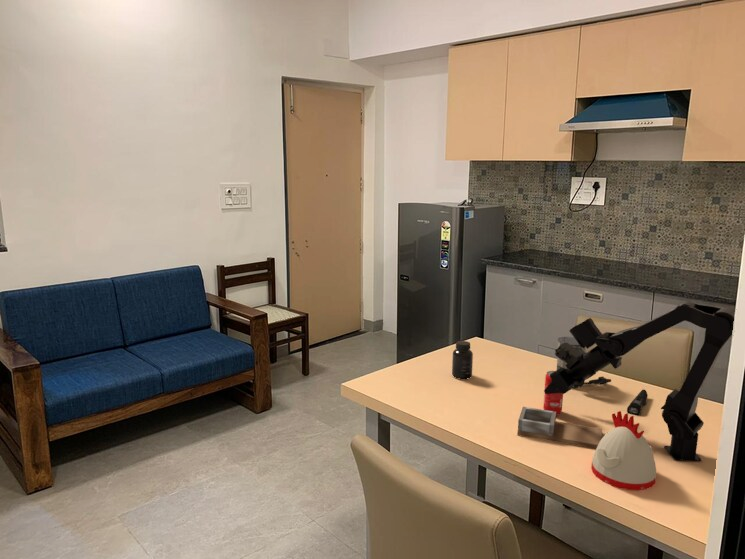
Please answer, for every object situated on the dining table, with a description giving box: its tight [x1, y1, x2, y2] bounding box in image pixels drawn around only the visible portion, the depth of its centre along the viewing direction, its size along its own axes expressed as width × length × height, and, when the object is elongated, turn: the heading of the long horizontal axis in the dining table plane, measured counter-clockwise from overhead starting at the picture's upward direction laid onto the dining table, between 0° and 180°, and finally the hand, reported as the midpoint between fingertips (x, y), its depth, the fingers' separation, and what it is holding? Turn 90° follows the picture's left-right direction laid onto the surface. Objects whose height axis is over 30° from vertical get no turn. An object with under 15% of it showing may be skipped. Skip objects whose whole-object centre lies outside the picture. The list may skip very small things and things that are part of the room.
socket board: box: [517, 406, 603, 450], centre depth 153 cm, size 21×10×4 cm, turn 68°
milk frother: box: [556, 336, 612, 389], centre depth 185 cm, size 14×16×15 cm
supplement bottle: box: [451, 340, 474, 380], centre depth 192 cm, size 7×7×12 cm
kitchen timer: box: [591, 410, 657, 491], centre depth 132 cm, size 14×14×15 cm
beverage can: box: [543, 370, 564, 417], centre depth 165 cm, size 5×5×12 cm
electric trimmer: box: [626, 389, 649, 417], centre depth 171 cm, size 4×16×3 cm, turn 144°
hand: (552, 387), depth 165 cm, fingers open, 9 cm apart
